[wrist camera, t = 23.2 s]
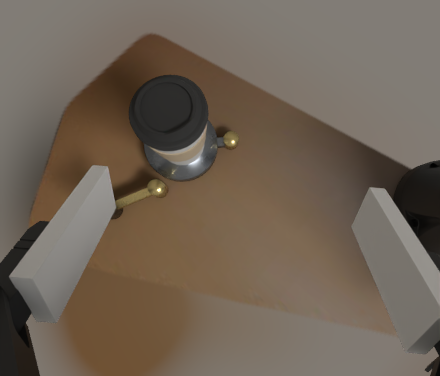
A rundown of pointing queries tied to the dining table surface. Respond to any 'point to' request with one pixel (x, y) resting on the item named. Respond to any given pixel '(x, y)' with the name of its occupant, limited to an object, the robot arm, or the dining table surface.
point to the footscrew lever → (141, 196)
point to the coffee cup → (170, 118)
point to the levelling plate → (197, 166)
